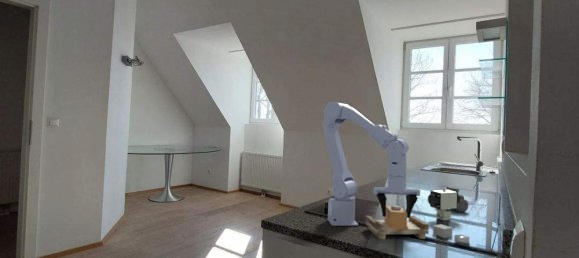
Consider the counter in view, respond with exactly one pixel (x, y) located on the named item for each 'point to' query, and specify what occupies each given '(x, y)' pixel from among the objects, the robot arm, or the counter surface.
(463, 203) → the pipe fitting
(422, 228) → the stand
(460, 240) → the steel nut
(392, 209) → the housing
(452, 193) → the pneumatic valve
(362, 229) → the counter surface
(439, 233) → the rubber block
